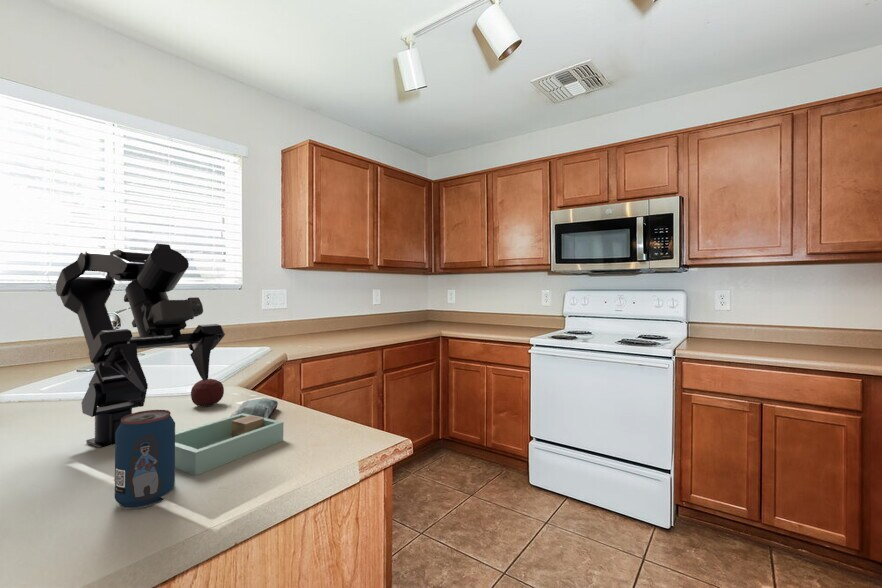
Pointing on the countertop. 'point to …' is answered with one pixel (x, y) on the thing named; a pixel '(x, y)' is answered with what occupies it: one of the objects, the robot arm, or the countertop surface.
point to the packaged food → (257, 408)
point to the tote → (221, 443)
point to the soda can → (144, 458)
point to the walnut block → (246, 425)
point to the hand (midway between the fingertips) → (177, 384)
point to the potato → (207, 392)
